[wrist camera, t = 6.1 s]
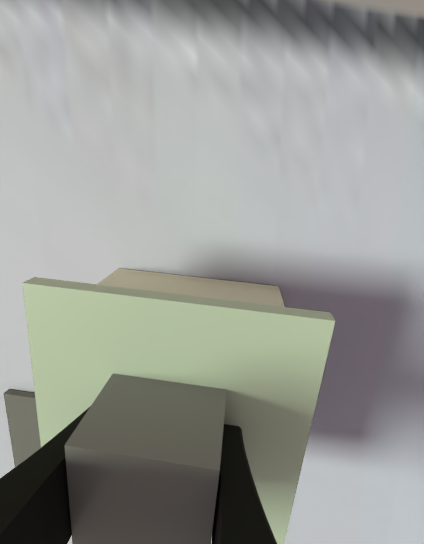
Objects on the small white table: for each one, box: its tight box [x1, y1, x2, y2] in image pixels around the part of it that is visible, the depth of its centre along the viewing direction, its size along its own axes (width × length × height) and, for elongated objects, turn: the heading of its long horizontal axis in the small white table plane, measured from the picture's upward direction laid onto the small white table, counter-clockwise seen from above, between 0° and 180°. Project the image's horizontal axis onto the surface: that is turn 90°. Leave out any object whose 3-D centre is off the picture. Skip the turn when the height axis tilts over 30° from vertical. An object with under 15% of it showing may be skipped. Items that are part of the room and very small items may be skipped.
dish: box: [97, 269, 285, 307], centre depth 15 cm, size 8×8×4 cm
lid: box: [22, 277, 335, 544], centre depth 10 cm, size 10×10×4 cm
